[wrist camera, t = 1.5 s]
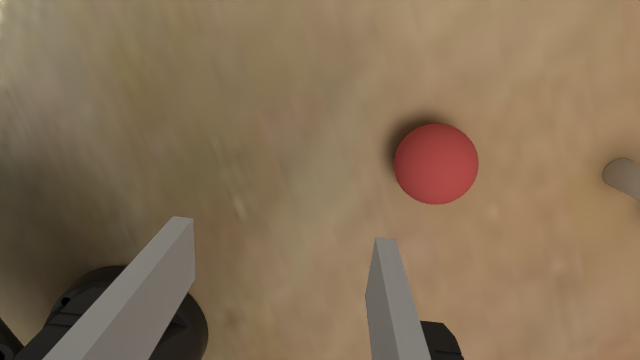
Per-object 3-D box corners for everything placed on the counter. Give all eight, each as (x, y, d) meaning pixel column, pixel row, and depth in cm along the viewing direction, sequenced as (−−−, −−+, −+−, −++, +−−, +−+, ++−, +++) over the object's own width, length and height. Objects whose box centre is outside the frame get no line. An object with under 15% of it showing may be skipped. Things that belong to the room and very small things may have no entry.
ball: (383, 182, 31) (393, 214, 25) (395, 112, 28) (409, 130, 23) (452, 189, 31) (478, 223, 25) (470, 120, 28) (503, 140, 23)
